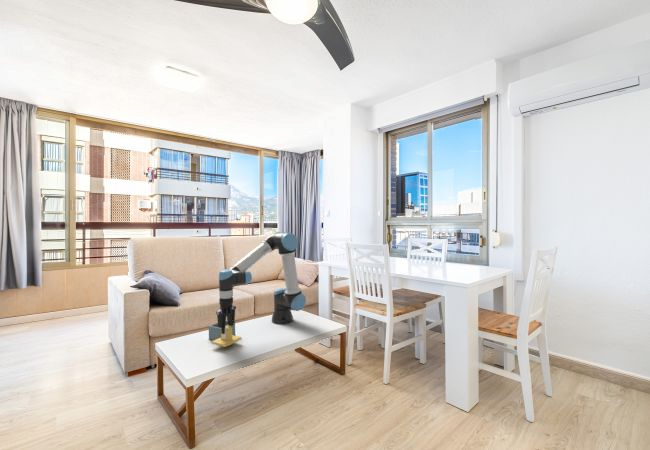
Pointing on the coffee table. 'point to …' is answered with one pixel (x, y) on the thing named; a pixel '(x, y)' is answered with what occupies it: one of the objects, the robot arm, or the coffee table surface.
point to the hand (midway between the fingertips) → (226, 337)
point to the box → (218, 331)
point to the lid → (229, 340)
